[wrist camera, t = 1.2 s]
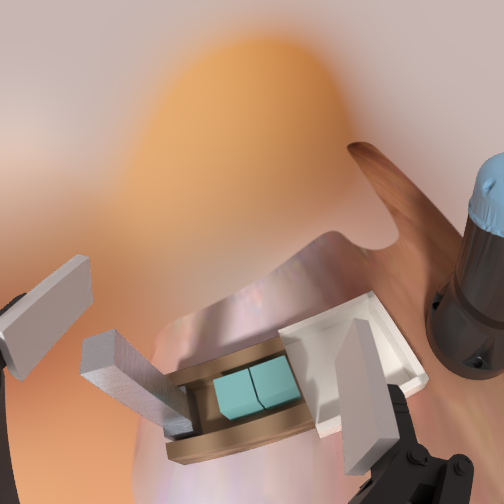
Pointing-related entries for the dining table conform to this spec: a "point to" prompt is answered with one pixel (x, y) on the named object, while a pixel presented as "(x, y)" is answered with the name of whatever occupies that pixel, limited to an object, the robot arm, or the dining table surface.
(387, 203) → the dining table surface
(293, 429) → the channel
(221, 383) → the teal block
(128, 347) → the brushed metal bar
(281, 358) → the teal cube
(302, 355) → the tray
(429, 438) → the dining table surface
